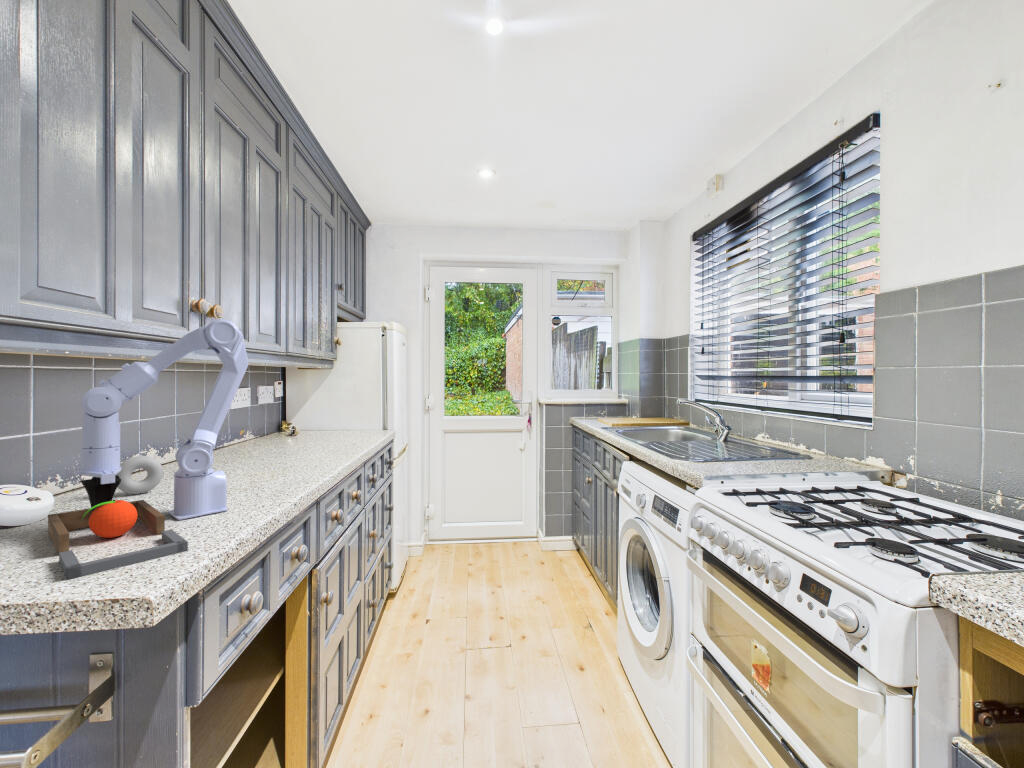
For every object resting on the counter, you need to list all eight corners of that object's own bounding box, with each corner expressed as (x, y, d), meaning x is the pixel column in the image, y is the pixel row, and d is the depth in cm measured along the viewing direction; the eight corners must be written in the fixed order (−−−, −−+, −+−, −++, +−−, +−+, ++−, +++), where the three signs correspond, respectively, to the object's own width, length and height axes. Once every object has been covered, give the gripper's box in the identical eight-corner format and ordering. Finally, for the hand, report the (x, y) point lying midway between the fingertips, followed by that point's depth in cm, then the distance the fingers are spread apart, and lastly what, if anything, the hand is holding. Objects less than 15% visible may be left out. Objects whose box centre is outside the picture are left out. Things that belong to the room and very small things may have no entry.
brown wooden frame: (142, 515, 97) (142, 499, 97) (164, 533, 86) (164, 515, 86) (48, 532, 85) (48, 514, 85) (59, 555, 75) (59, 535, 75)
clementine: (88, 548, 78) (88, 508, 78) (75, 540, 82) (75, 502, 82) (143, 535, 85) (143, 498, 85) (129, 528, 89) (129, 493, 89)
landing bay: (171, 537, 84) (171, 529, 84) (187, 550, 78) (187, 541, 78) (59, 561, 72) (59, 552, 72) (67, 579, 66) (67, 569, 66)
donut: (114, 498, 110) (114, 459, 110) (112, 496, 112) (112, 457, 112) (164, 491, 117) (164, 454, 117) (161, 489, 119) (162, 452, 119)
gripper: (68, 445, 90) (68, 511, 90) (79, 453, 81) (78, 526, 81) (114, 441, 96) (113, 504, 96) (129, 449, 87) (128, 517, 87)
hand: (100, 513), depth 89 cm, fingers closed
